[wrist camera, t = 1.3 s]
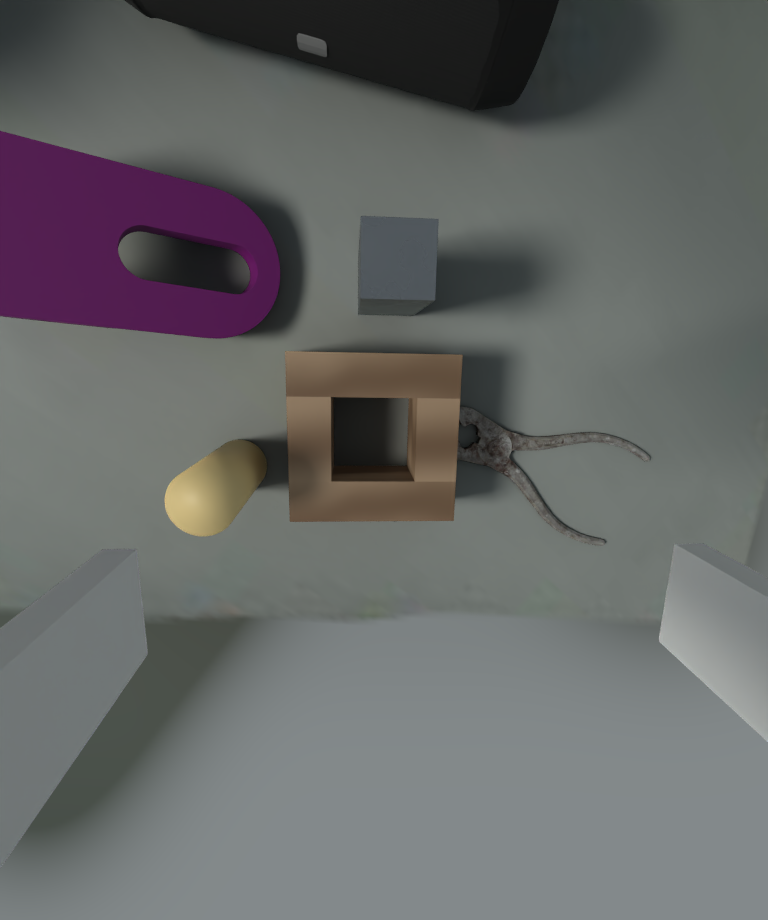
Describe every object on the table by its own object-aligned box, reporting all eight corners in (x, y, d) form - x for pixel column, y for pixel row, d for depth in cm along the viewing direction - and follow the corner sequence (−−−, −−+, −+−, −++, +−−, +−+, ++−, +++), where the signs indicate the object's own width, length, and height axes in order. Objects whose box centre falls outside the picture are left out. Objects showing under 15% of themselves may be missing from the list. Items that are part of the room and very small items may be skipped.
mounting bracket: (253, 229, 39) (-27, 163, 30) (283, 206, 32) (-70, 111, 23) (248, 343, 41) (-16, 314, 32) (276, 346, 34) (-53, 309, 25)
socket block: (294, 351, 36) (285, 351, 31) (447, 355, 36) (462, 354, 32) (297, 500, 38) (289, 521, 33) (440, 500, 39) (453, 520, 34)
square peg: (358, 255, 34) (360, 215, 25) (414, 257, 35) (438, 218, 25) (358, 314, 35) (360, 298, 26) (412, 315, 36) (435, 300, 26)
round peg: (212, 439, 37) (161, 468, 27) (266, 439, 37) (235, 469, 27) (215, 490, 38) (167, 536, 28) (267, 490, 38) (238, 536, 28)
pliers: (622, 550, 41) (402, 513, 38) (617, 546, 42) (401, 509, 39) (657, 444, 39) (428, 398, 37) (650, 442, 40) (426, 397, 37)
